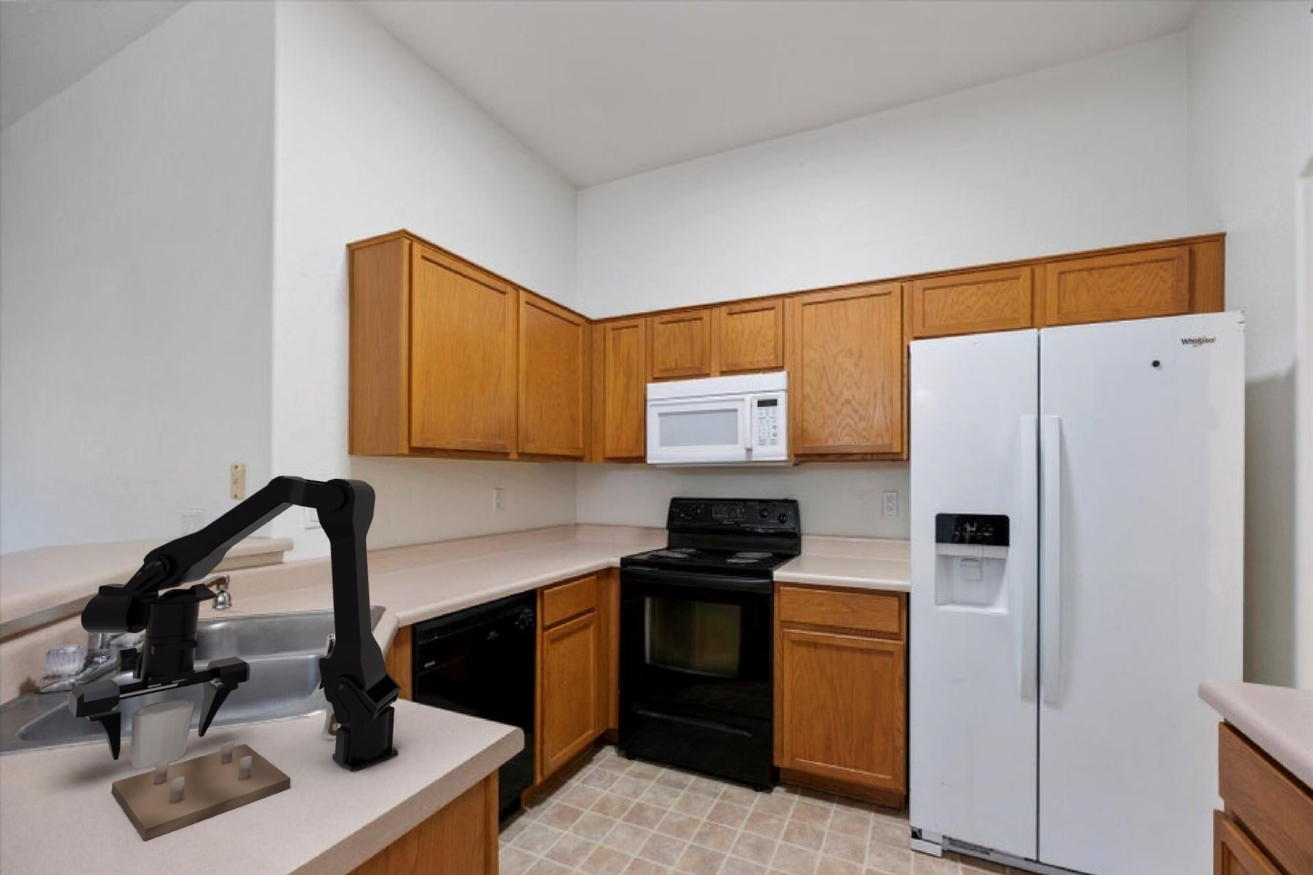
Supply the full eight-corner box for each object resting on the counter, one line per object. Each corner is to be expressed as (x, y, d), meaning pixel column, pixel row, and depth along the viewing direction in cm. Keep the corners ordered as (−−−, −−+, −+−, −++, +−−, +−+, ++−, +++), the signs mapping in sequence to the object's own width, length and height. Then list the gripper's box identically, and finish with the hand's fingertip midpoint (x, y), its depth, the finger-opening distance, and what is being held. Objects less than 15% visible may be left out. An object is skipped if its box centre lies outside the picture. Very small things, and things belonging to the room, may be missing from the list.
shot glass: (201, 753, 80) (205, 702, 81) (141, 774, 74) (147, 719, 75) (174, 744, 83) (179, 695, 84) (114, 764, 77) (120, 710, 78)
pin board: (244, 752, 81) (246, 726, 81) (289, 787, 71) (292, 758, 72) (111, 792, 70) (114, 761, 70) (144, 840, 60) (148, 805, 61)
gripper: (230, 614, 93) (221, 713, 91) (68, 636, 78) (54, 754, 76) (255, 624, 86) (246, 731, 84) (84, 650, 71) (69, 780, 70)
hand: (160, 747), depth 79 cm, fingers open, 9 cm apart
